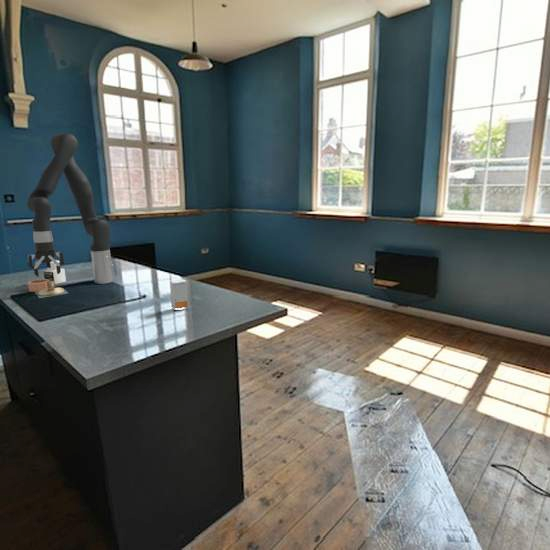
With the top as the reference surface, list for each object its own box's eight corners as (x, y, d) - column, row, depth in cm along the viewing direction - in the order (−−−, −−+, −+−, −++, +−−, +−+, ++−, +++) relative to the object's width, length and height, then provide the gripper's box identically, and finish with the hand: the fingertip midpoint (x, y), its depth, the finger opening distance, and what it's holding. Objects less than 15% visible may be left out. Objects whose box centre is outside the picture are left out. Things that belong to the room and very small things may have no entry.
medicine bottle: (45, 283, 200) (41, 261, 198) (57, 280, 207) (53, 259, 204) (54, 284, 198) (51, 262, 195) (66, 281, 204) (63, 259, 201)
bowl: (48, 286, 194) (47, 278, 193) (52, 290, 188) (50, 281, 186) (28, 289, 189) (26, 281, 188) (31, 293, 182) (29, 284, 181)
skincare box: (174, 311, 153) (172, 283, 150) (171, 308, 157) (169, 280, 154) (189, 309, 156) (187, 281, 153) (186, 306, 160) (184, 279, 157)
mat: (63, 289, 189) (62, 288, 189) (68, 294, 180) (68, 293, 180) (35, 293, 182) (35, 292, 182) (39, 299, 173) (39, 298, 173)
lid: (61, 288, 188) (59, 277, 187) (66, 293, 180) (64, 281, 179) (37, 292, 182) (35, 281, 180) (41, 297, 174) (39, 285, 172)
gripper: (59, 238, 182) (63, 271, 186) (24, 241, 173) (29, 275, 177) (62, 240, 177) (66, 274, 180) (26, 242, 168) (31, 278, 171)
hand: (48, 275), depth 179 cm, fingers open, 8 cm apart
